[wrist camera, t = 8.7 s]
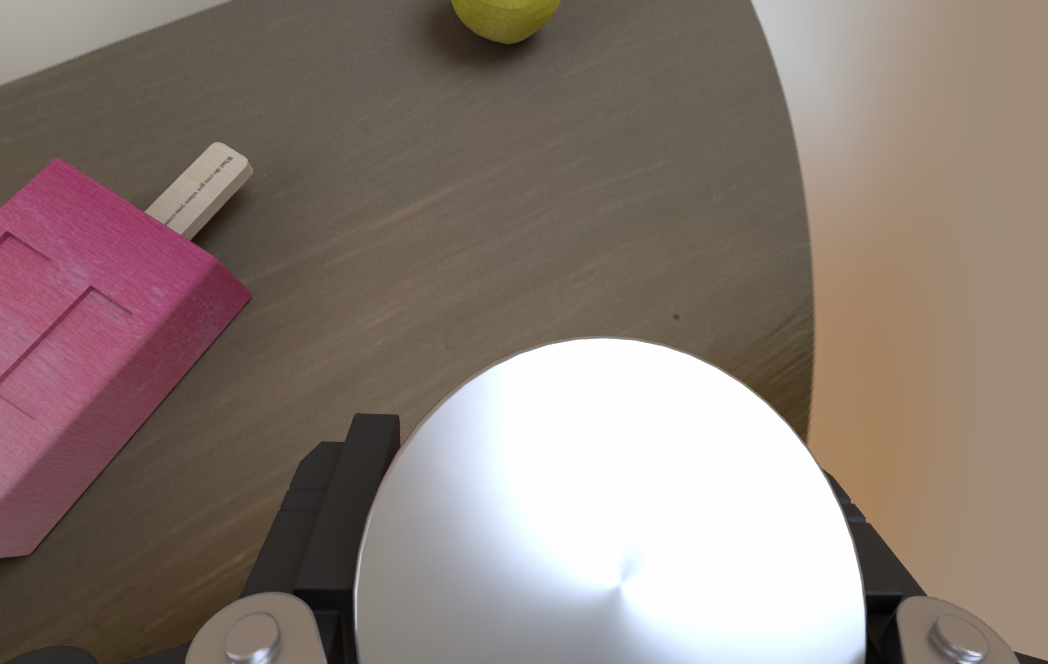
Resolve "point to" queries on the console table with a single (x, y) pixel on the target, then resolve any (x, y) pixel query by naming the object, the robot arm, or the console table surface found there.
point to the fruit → (505, 17)
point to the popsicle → (98, 325)
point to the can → (606, 522)
